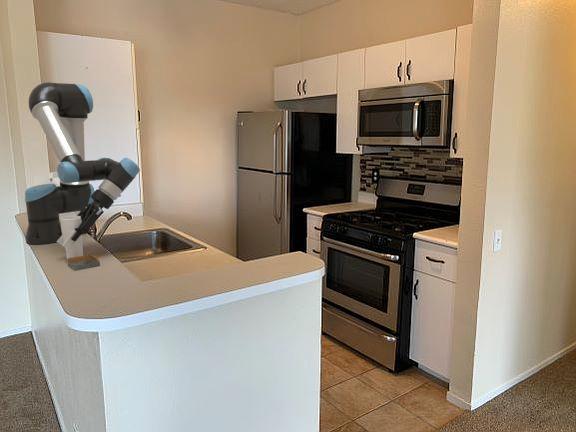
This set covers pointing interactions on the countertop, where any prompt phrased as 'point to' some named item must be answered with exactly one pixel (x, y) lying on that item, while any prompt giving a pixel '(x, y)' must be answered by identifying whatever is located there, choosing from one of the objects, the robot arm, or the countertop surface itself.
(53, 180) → the milk
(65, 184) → the robot arm
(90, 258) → the square coaster
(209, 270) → the countertop surface
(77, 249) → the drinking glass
